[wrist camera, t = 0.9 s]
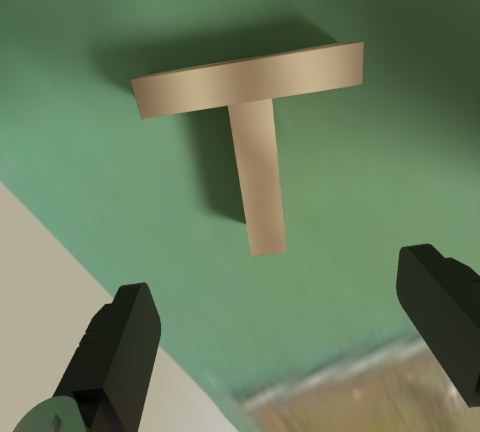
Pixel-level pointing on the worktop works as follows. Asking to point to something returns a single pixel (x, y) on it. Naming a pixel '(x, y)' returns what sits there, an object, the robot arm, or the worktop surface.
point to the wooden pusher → (253, 115)
